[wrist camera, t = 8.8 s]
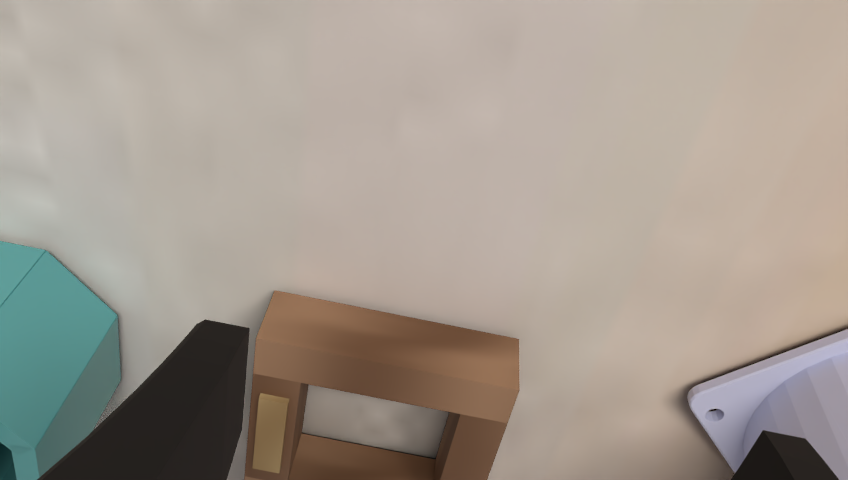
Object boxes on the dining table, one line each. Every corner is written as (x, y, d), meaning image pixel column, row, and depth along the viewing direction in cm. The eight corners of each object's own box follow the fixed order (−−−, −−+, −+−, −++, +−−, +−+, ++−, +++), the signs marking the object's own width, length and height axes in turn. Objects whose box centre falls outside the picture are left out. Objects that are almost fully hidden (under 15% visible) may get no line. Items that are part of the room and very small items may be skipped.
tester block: (518, 339, 23) (519, 396, 21) (466, 491, 27) (463, 550, 25) (274, 290, 22) (253, 343, 21) (258, 451, 27) (240, 508, 25)
